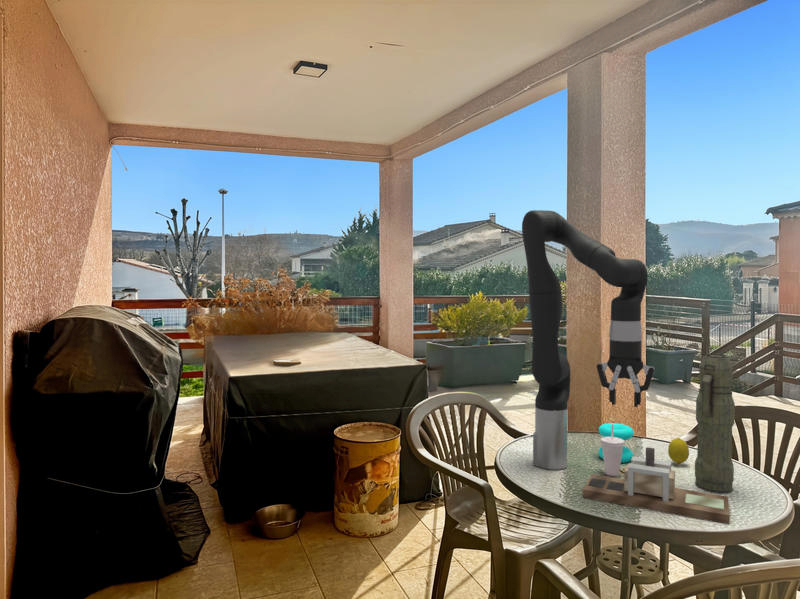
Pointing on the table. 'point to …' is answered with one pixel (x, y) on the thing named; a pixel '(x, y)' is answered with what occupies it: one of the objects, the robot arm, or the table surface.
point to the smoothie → (612, 453)
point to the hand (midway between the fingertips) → (624, 404)
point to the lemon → (678, 451)
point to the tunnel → (659, 470)
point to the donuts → (619, 432)
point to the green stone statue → (715, 425)
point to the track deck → (660, 499)
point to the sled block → (650, 479)
